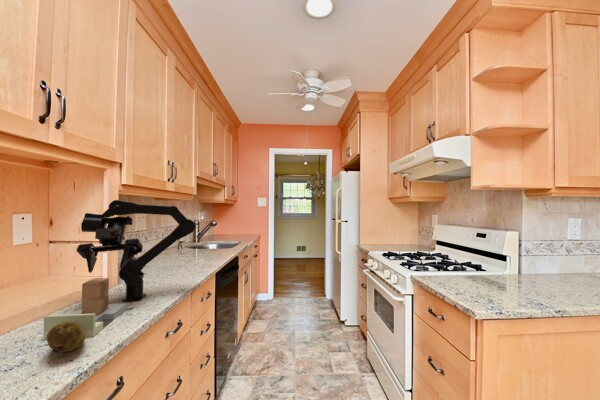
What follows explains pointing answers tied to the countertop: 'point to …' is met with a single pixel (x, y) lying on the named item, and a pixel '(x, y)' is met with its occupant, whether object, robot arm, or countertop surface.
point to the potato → (65, 337)
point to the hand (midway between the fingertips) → (105, 270)
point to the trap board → (86, 319)
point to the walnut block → (95, 296)
